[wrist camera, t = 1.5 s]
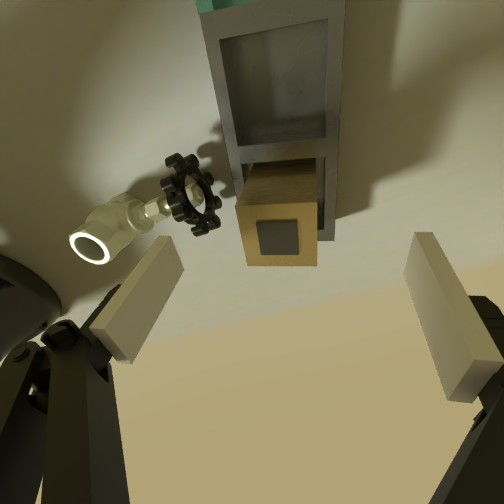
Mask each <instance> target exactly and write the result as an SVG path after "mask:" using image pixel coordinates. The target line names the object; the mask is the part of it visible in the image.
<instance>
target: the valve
mask: <svg viewBox="0 0 504 504" xmlns="http://www.w3.org/2000/svg"><path fill="white" fill-rule="evenodd" d="M165 164H166V166H167V168H170V167H172V166H173V168H174V169H175V170H176V172H175V174H171V175H168V176H166V177H164V178H162V179H161V180H160V185H161V188H162V189H163V191H164V192H165V194H166V195H167V196H166V198H164V197H162V196H159V197H156V198H154V199H151V200H149V201H148V202H147V203H146V204H145V203H144V202H143V201H141V200H138V199H136V198H134V197H133V196H131V195H130V194H128V193H124V194H121V195H119V196H117V197H115V198H113V199H111V200H110V201H109V202H108V203H107V204H104V205H101V206H98V207H97V208H95V209H94V210H93V211H92V212H91V213H90V214H89V215H88V217H87V219H86V222H85V224H83V225H81V226H79V227H78V228H77V229H76V230H75V231H73V232H72V233H71V234H70V235H69V240H70V243H71V246H72V248H73V250H74V251H75V252H76V253H77V254H78V255H79V256H80V257H82V258H83V259H85V260H87V261H89V262H91V263H94V264H97V265H100V264H104V263H107V262H109V261H112V260H113V259H114V258H115V257H116V256H117V254H118V253H119V252H120V251H121V250H122V248H124V247H126V246H127V245H129V244H130V243H131V242H132V241H133V240H134V238H135V236H136V235H141V234H143V233H146V232H149V231H150V230H151V229H152V228H153V225H154V221H155V222H158V221H161V220H163V219H166V218H168V217H169V216H170V215H171V213H172V215H173V218H174V219H175V220H176V221H177V222H182V221H185V222H186V223H188V224H190V225H196V227H193V228H191V231H192V233H193V235H194V236H196V237H198V236H201V235H204V234H207V233H208V232H209V231H210V230H214V229H217V228H219V227H220V226H221V222H220V219H219V217H218V216H217V215H215V210H217V209H219V208H221V207H222V201H221V199H220V198H219V197H218V196H214V195H213V193H212V190H211V185H213V183H214V179H213V177H212V175H211V173H209V172H206V173H203V174H202V173H201V172H200V171H199V168H198V167H199V161H198V159H197V157H196V156H195V155H194V154H190V155H188V156H186V157H184V158H183V157H182V156H181V155H180V154H179V153H175V154H173V155H171V156H169V157H167V158H166V159H165ZM186 175H189V176H191V177H192V178H193V179H195V181H196V183H192V184H189V185H185V177H186ZM203 194H204V195H203ZM204 198H205V205H206V206H205V212H204V214H201V213H199V212H198V211H197V210H196V209H195V208H196V207H197V206H200V205H201V204H202V203H203V201H204ZM207 222H208V223H207Z"/></svg>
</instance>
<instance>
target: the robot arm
mask: <svg viewBox="0 0 504 504" xmlns="http://www.w3.org/2000/svg"><path fill="white" fill-rule="evenodd" d="M183 271H184V268H183V266H182V263H181V261H180V258H179V256H178V253H177V251H176V248H175V246H174V243H173V241H172V238H171V236H159V237H158V238H157V239H156V241H155V242H154V243H153V245H152V246H151V247H150V248H149V250H148V251H147V252H146V254H145V255H144V256H143V258H142V259H141V260H140V262H139V263H138V264H137V265H136V267H135V268H134V269H133V271H132V272H131V273H130V275H129V276H128V277H127V278H126V280H125V281H124V282H123V284H118V285H117V286H116V287H114V288H113V289H112V290H111V291H109V293H108V294H107V295H106V296H105V298H104V300H103V301H102V302H101V303H100V304H99V305H98V307H97V308H96V309H95V310H94V312H93V313H92V314H91V315H90V317H89V318H88V319H87V320H86V322H85V323H84V324H83V325H82V327H81V328H80V329H79V328H78V327H77V325H76V324H75V323H74V322H73V321H71V320H62V321H59V322H57V323H55V324H53V323H54V322H55V320H56V319H57V318H58V317H59V316H60V315H61V312H62V307H61V304H60V301H59V299H58V298H57V296H56V295H55V293H54V292H53V291H52V290H51V289H50V287H49V286H48V285H47V284H46V283H44V282H43V281H42V280H41V279H40V278H39V277H37V276H36V275H35V274H33V273H32V272H31V271H29V270H28V269H26V268H24V267H23V266H21V265H19V264H17V263H16V262H14V261H12V260H10V259H8V258H5V257H3V256H0V361H1V360H2V359H3V358H4V357H5V356H6V355H7V357H6V358H5V360H4V361H3V363H2V365H1V367H0V504H35V502H36V498H37V495H38V491H39V488H40V484H41V480H42V477H43V483H42V496H41V504H130V502H129V493H128V487H127V478H126V471H125V464H124V456H123V449H122V441H121V434H120V427H119V419H118V412H117V405H116V397H115V390H114V382H113V375H112V368H111V365H110V363H109V361H110V359H111V357H112V356H113V357H114V358H115V359H116V361H117V362H118V363H126V364H132V363H133V361H134V359H135V358H136V356H137V354H138V352H139V351H140V349H141V347H142V345H143V343H144V342H145V340H146V338H147V336H148V334H149V332H150V331H151V329H152V327H153V325H154V323H155V322H156V320H157V318H158V316H159V314H160V313H161V311H162V309H163V307H164V305H165V304H166V302H167V300H168V298H169V296H170V295H171V293H172V291H173V289H174V287H175V286H176V284H177V282H178V280H179V278H180V277H181V275H182V273H183ZM404 277H405V280H406V283H407V286H408V288H409V291H410V294H411V297H412V300H413V303H414V306H415V309H416V312H417V314H418V317H419V320H420V323H421V326H422V329H423V332H424V335H425V337H426V340H427V343H428V346H429V349H430V352H431V355H432V358H433V360H434V363H435V366H436V369H437V372H438V375H439V378H440V381H441V383H442V386H443V389H444V392H445V395H446V398H447V400H448V401H456V402H465V403H473V402H474V400H475V399H476V398H477V396H479V399H480V401H481V403H482V405H483V409H482V410H481V411H480V412H479V413H478V415H477V416H476V417H475V418H474V421H475V422H474V424H473V426H472V428H471V429H470V431H469V433H468V434H467V436H466V438H465V440H464V442H463V443H462V445H461V447H460V449H459V450H458V452H457V454H456V456H455V458H454V459H453V461H452V463H451V465H450V466H449V468H448V470H447V472H446V473H445V475H444V477H443V479H442V481H441V482H440V484H439V486H438V488H437V489H436V491H435V493H434V495H433V496H432V498H431V500H430V502H429V504H504V315H503V314H502V312H501V311H500V309H499V308H498V306H496V305H495V304H494V303H493V302H492V301H490V300H489V299H488V298H487V297H485V296H468V295H467V293H466V291H465V290H464V288H463V286H462V284H461V282H460V281H459V279H458V277H457V276H456V273H455V272H454V270H453V268H452V266H451V265H450V263H449V261H448V259H447V257H446V256H445V254H444V252H443V250H442V248H441V247H440V245H439V243H438V241H437V240H436V238H435V236H434V234H433V232H414V236H413V240H412V243H411V247H410V251H409V255H408V258H407V262H406V266H405V270H404ZM52 324H53V325H52ZM46 329H47V330H46ZM45 330H46V331H45ZM43 331H45V332H44V333H43V334H42V336H41V339H40V340H41V341H42V342H43V343H44V344H45V345H46V346H44V347H40V346H39V345H38V344H37V343H36V342H33V341H29V340H31V339H32V338H34V337H35V336H37V335H38V334H40V333H42V332H43ZM28 341H29V342H28ZM31 387H32V388H33V392H32V394H31V395H29V391H30V388H31Z"/></svg>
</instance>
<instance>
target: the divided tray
mask: <svg viewBox="0 0 504 504" xmlns="http://www.w3.org/2000/svg"><path fill="white" fill-rule="evenodd" d="M345 1H346V0H196V4H197V9H198V14H199V15H200V19H201V24H202V29H203V34H204V39H205V44H206V49H207V54H208V59H209V64H210V69H211V74H212V79H213V84H214V89H215V94H216V99H217V104H218V109H219V114H220V118H221V123H222V128H223V133H224V138H225V143H226V148H227V153H228V158H229V163H230V168H231V173H232V178H233V183H234V188H235V193H236V198H237V200H238V198H239V196H240V194H241V191H242V189H243V187H244V184H245V182H246V180H247V178H248V175H249V173H250V171H251V169H252V166H253V164H254V163H258V162H270V161H281V160H293V159H305V158H316V177H317V241H334V236H335V214H336V193H337V172H338V150H339V129H340V108H341V86H342V65H343V44H344V22H345Z"/></svg>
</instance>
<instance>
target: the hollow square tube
mask: <svg viewBox="0 0 504 504" xmlns="http://www.w3.org/2000/svg"><path fill="white" fill-rule="evenodd" d="M235 209H236V213H237V218H238V223H239V228H240V233H241V237H242V242H243V247H244V252H245V256H246V261H247V266H317V177H316V158H305V159H293V160H281V161H270V162H258V163H254V164H253V166H252V169H251V171H250V173H249V175H248V178H247V180H246V182H245V184H244V187H243V189H242V191H241V194H240V196H239V198H238V200H237V203H236V205H235Z"/></svg>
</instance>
